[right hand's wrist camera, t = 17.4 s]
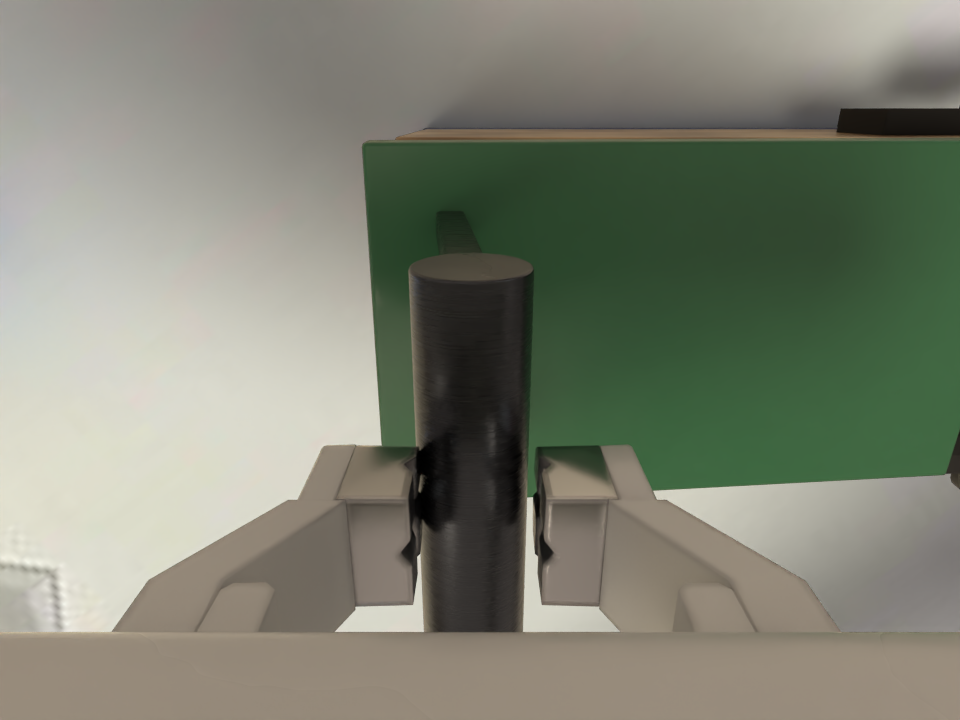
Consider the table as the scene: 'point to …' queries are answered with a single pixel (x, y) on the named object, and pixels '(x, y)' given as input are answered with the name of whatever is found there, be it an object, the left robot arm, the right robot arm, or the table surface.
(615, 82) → the table surface
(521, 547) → the lid
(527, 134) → the chest
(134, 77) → the table surface
